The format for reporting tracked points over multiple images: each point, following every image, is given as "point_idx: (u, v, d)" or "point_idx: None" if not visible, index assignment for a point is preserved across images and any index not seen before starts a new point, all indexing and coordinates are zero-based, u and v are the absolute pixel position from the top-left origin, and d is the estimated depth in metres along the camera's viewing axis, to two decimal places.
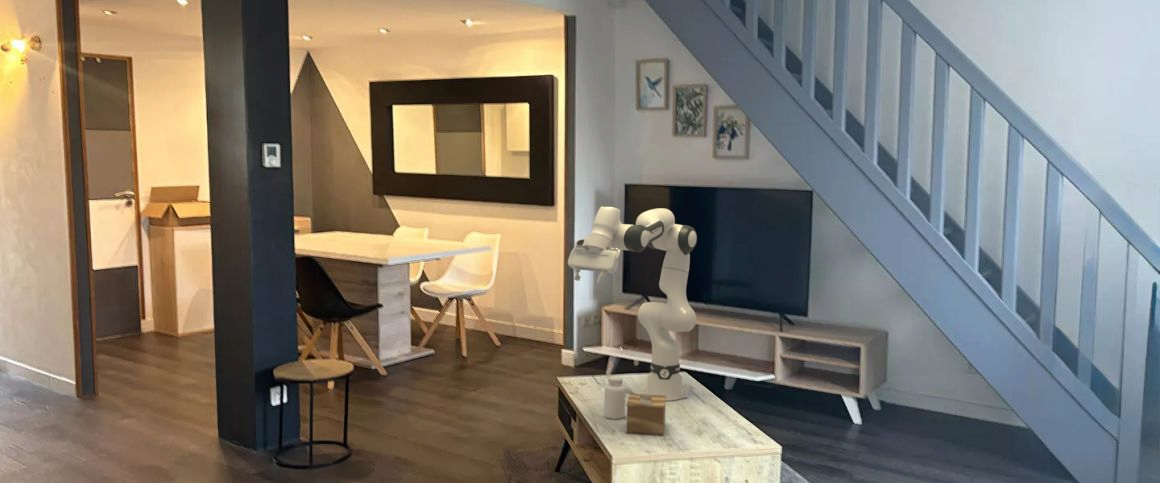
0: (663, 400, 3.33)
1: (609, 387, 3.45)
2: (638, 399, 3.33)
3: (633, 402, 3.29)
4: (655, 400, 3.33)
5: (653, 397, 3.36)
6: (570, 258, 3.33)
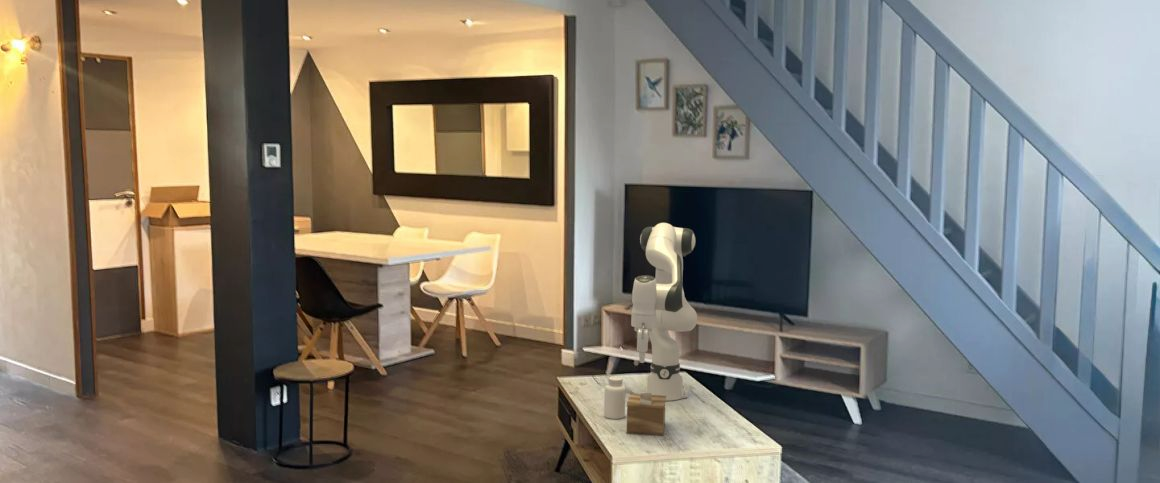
0: (663, 400, 3.33)
1: (609, 387, 3.45)
2: (638, 399, 3.33)
3: (633, 402, 3.29)
4: (655, 400, 3.33)
5: (653, 397, 3.36)
6: None
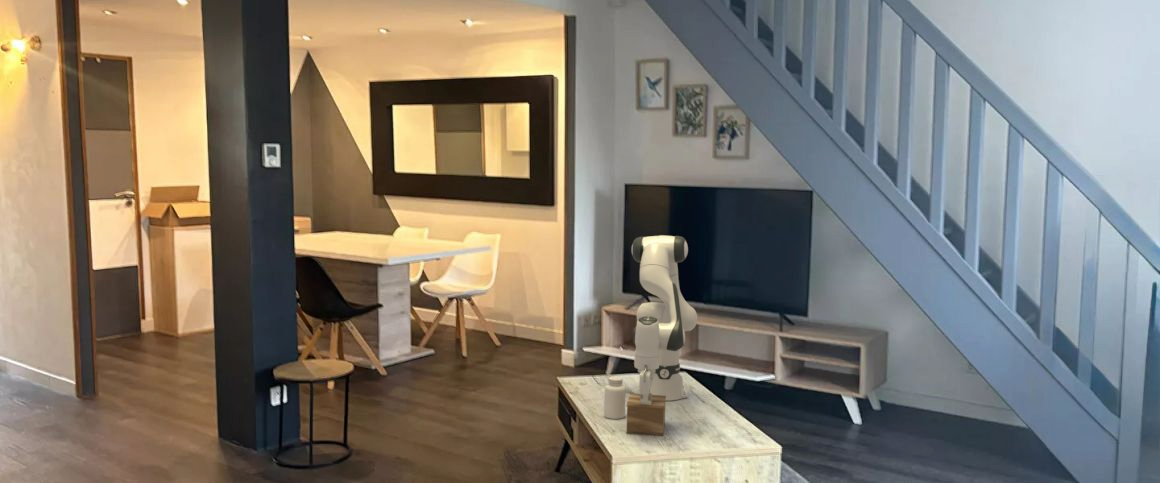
0: (663, 400, 3.33)
1: (609, 387, 3.45)
2: (638, 399, 3.33)
3: (633, 402, 3.29)
4: (655, 400, 3.33)
5: (653, 397, 3.36)
6: None
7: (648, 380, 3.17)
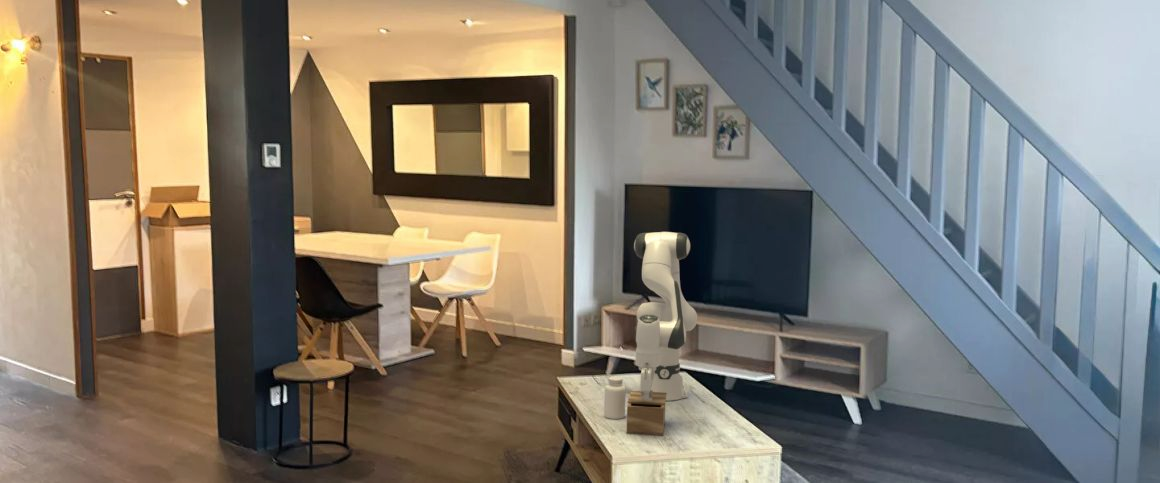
0: (664, 397, 3.37)
1: (609, 387, 3.45)
2: (639, 396, 3.38)
3: (634, 399, 3.33)
4: (656, 397, 3.37)
5: (654, 394, 3.41)
6: None
7: (649, 378, 3.21)
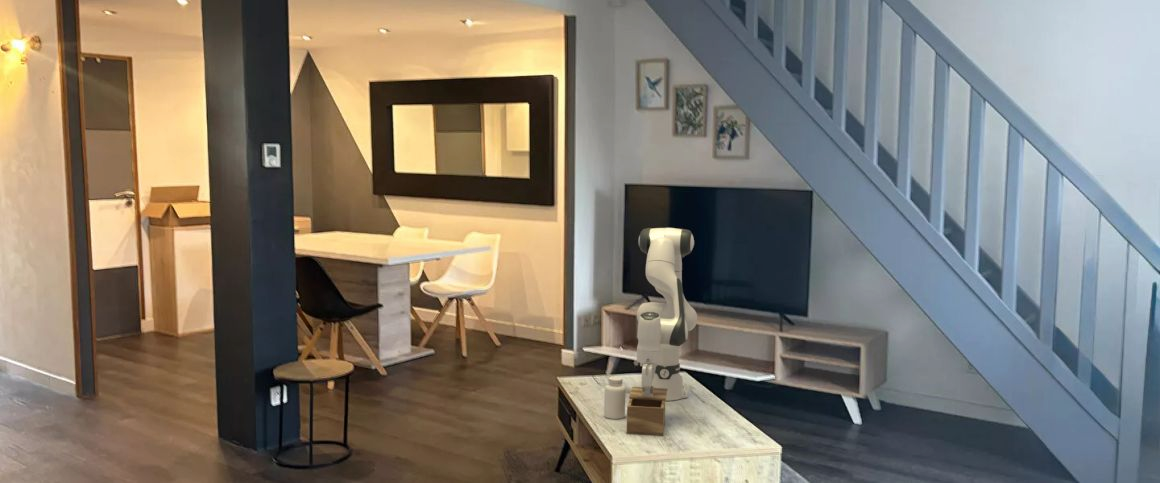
0: (664, 393, 3.43)
1: (609, 387, 3.45)
2: (640, 392, 3.43)
3: (635, 395, 3.39)
4: (657, 393, 3.42)
5: (655, 390, 3.46)
6: None
7: (650, 373, 3.27)
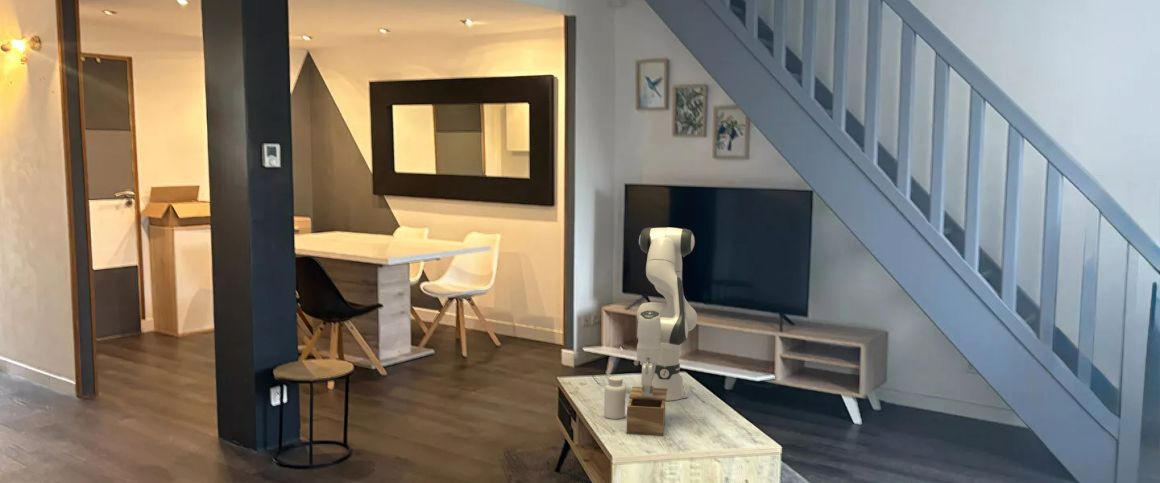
0: (664, 393, 3.43)
1: (609, 387, 3.45)
2: (640, 392, 3.43)
3: (635, 395, 3.39)
4: (657, 393, 3.42)
5: (655, 390, 3.46)
6: None
7: (650, 372, 3.27)
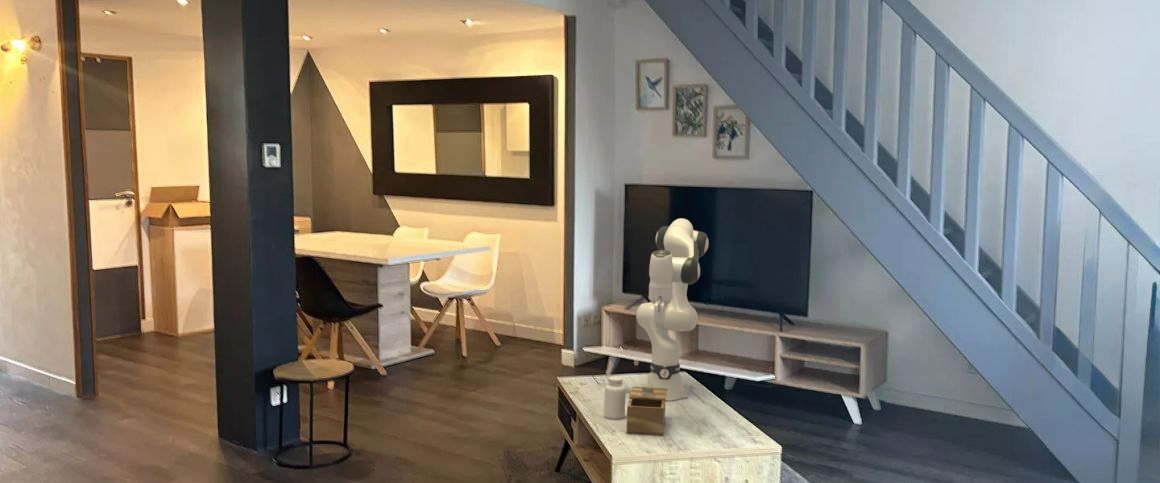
0: (664, 393, 3.43)
1: (609, 387, 3.45)
2: (640, 392, 3.43)
3: (635, 395, 3.39)
4: (657, 393, 3.42)
5: (655, 390, 3.46)
6: None
7: (662, 310, 3.29)
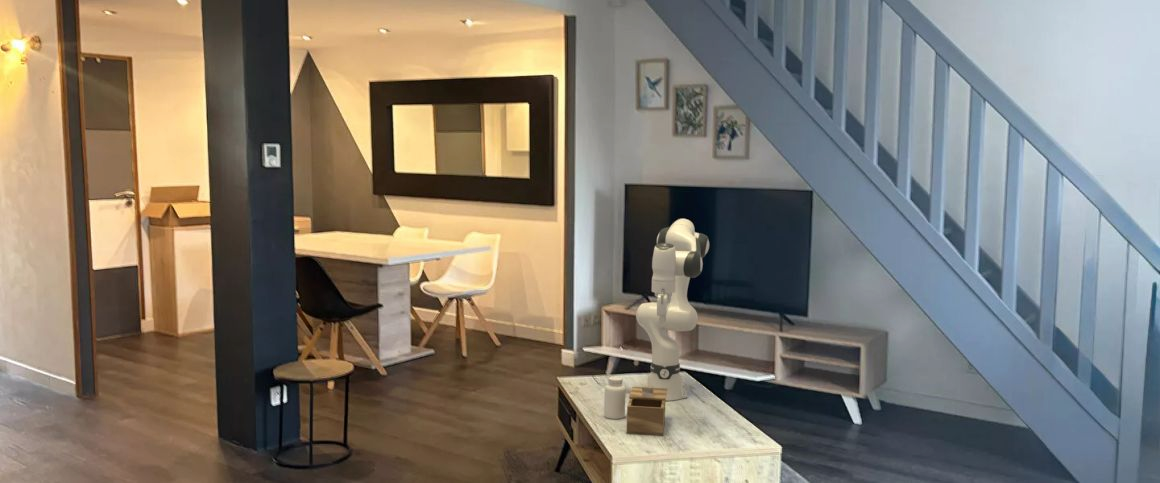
0: (664, 393, 3.43)
1: (609, 387, 3.45)
2: (640, 392, 3.43)
3: (635, 395, 3.39)
4: (657, 393, 3.42)
5: (655, 390, 3.46)
6: None
7: (665, 302, 3.30)
